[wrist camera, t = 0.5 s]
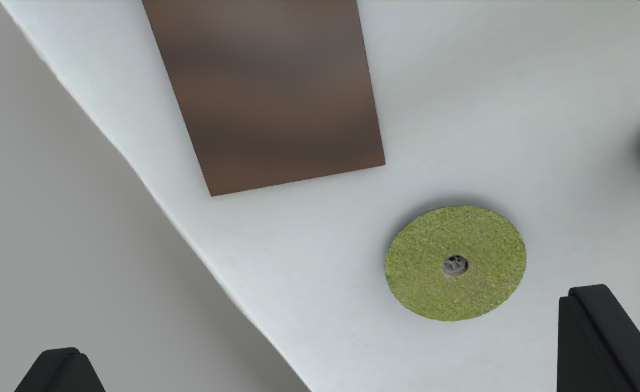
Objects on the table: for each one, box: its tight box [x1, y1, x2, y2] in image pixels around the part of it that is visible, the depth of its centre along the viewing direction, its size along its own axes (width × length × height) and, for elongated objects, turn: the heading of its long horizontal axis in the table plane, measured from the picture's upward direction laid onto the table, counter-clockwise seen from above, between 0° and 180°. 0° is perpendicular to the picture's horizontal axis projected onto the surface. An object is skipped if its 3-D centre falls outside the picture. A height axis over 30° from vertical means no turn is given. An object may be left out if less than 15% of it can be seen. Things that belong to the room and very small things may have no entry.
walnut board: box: [142, 0, 386, 197], centre depth 37 cm, size 20×14×1 cm
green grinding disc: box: [385, 205, 526, 321], centre depth 44 cm, size 11×11×2 cm
